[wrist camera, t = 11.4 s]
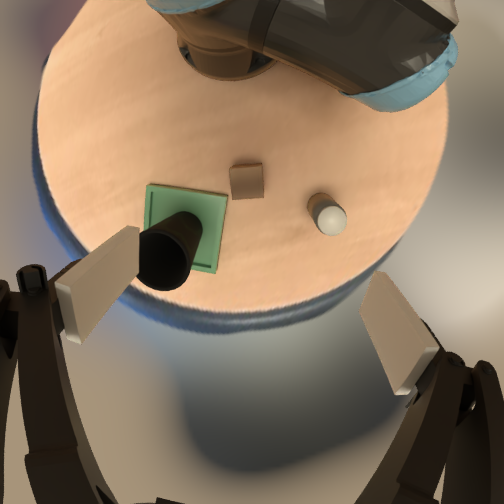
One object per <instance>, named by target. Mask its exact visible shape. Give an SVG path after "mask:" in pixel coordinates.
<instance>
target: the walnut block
mask: <svg viewBox="0 0 504 504" xmlns="http://www.w3.org/2000/svg"><path fill="white" fill-rule="evenodd" d="M229 173H230V183H231V193H232V200H239V199H253V198H264V184H263V171H262V163H256V164H243V165H233V166H232V167H231V168H230V169H229Z"/></svg>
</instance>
